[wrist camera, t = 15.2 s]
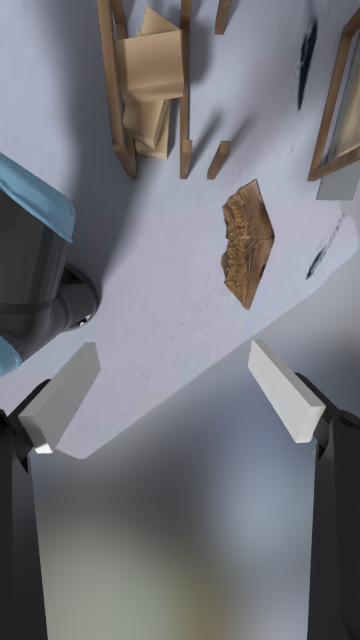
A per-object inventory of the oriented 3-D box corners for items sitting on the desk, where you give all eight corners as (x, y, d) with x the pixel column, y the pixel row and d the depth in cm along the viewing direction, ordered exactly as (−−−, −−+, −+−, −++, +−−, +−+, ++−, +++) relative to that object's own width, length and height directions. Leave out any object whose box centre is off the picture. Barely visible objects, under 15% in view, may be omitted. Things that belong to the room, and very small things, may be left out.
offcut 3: (138, 156, 30) (135, 147, 28) (140, 53, 26) (136, 30, 23) (166, 161, 31) (166, 152, 28) (173, 60, 26) (174, 38, 23)
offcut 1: (117, 61, 22) (111, 41, 20) (178, 52, 22) (179, 30, 20) (125, 105, 24) (120, 91, 21) (182, 96, 23) (183, 81, 21)
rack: (130, 177, 31) (113, 150, 22) (116, 15, 24) (83, -121, 15) (313, 181, 32) (366, 156, 23) (351, 28, 25) (448, -90, 16)
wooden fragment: (222, 183, 32) (223, 180, 31) (280, 178, 32) (283, 176, 31) (219, 311, 42) (220, 313, 41) (264, 307, 42) (266, 309, 41)
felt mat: (315, 199, 34) (317, 199, 33) (369, -4, 24) (372, -8, 24) (350, 200, 34) (352, 199, 33) (416, -1, 24) (420, -5, 24)
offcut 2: (127, 134, 27) (122, 122, 24) (149, 34, 23) (146, 5, 20) (155, 150, 28) (153, 139, 25) (180, 55, 24) (182, 30, 21)
